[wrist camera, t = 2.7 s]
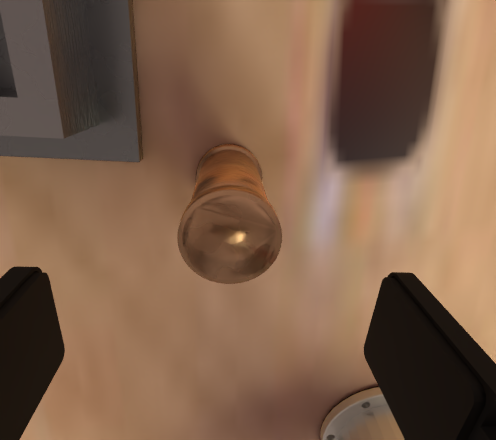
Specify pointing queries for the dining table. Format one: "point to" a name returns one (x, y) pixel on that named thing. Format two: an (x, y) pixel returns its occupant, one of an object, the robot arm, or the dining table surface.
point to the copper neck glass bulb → (229, 219)
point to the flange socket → (69, 80)
